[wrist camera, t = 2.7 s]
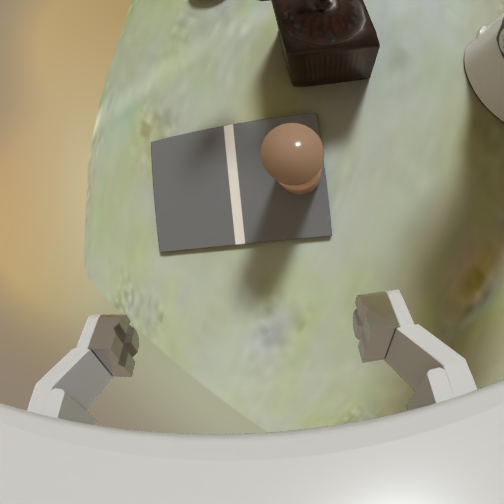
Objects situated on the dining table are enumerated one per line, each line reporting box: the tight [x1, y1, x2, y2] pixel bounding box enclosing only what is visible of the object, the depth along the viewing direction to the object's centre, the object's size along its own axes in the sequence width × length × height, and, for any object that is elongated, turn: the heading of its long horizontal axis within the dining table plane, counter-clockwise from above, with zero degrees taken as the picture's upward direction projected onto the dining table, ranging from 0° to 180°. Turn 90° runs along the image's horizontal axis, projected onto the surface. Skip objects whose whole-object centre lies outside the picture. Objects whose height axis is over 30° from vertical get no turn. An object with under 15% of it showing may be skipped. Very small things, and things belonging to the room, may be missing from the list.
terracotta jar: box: [261, 123, 324, 195], centre depth 31 cm, size 5×5×12 cm
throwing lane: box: [151, 113, 332, 252], centre depth 39 cm, size 22×15×1 cm
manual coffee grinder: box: [259, 0, 380, 87], centre depth 27 cm, size 16×11×18 cm
